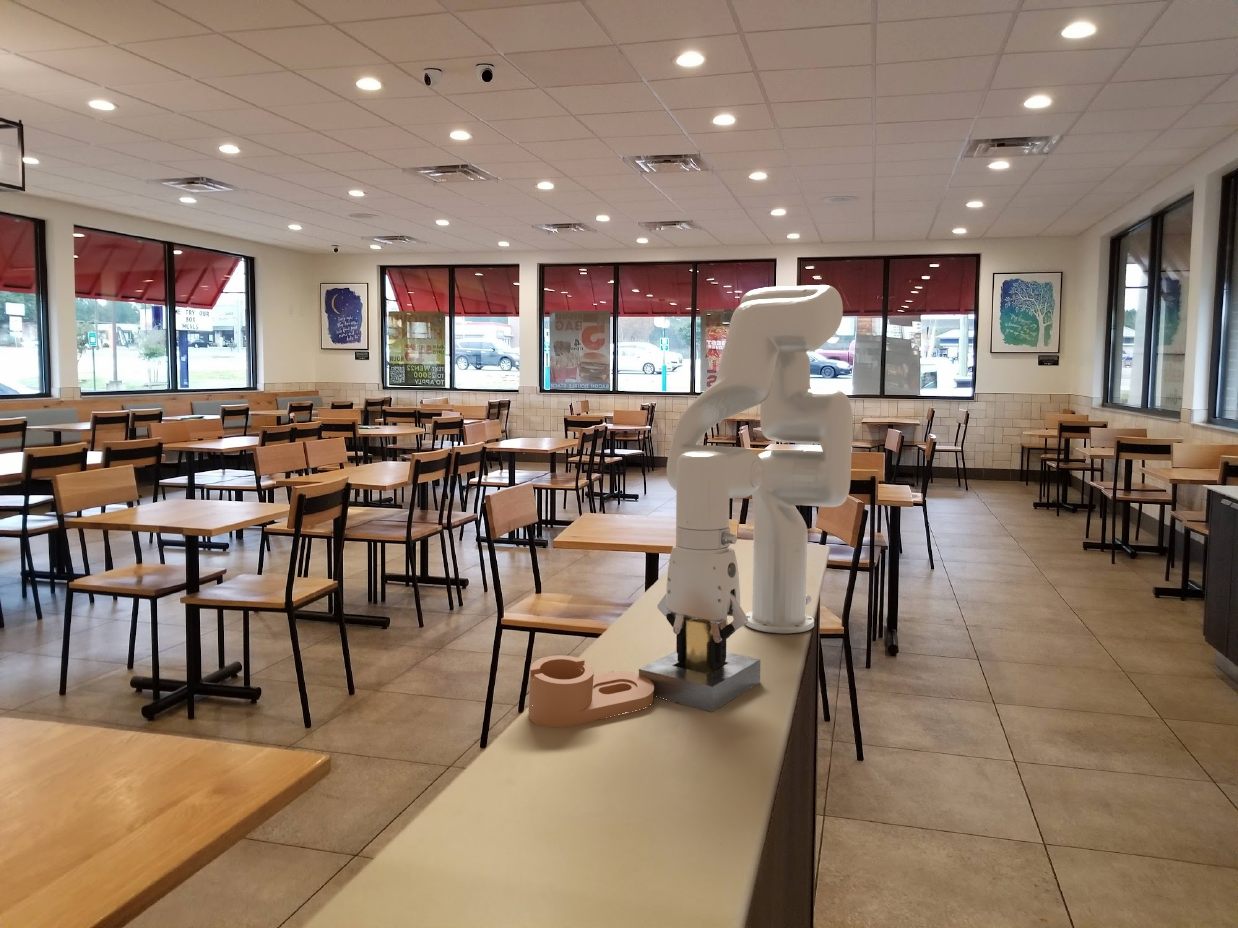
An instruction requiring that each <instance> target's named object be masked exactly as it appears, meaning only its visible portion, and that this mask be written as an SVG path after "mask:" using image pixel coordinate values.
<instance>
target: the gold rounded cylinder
mask: <svg viewBox="0 0 1238 928" xmlns="http://www.w3.org/2000/svg"><path fill="white" fill-rule="evenodd" d="M712 641H713V634H712V629H711V625H710V621H709V620H703V619H698V618H693V617H687V618H686V661H685V669H689V670H693V671H697V672H702V673H706V674H709V673H711V672H713V671H715V670H716V669H715V670H713V669H711V668H710V667H709V664H710V642H712Z"/></svg>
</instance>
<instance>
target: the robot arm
mask: <svg viewBox="0 0 1238 928" xmlns="http://www.w3.org/2000/svg"><path fill="white" fill-rule="evenodd" d="M843 313H844V307H843V300H842V297H841V294H840V293H839V291H838V290H837V289H836V288H835V287H834V286H832V285H827V284H819V285H818V284H817V285H795V286H793V285H792V286H787V285H786V286H769V287H762V288H756V289H752V290H749V291H748V292H746V293H745V294H743V296H742V298H741V299H740V303H739V305H738V306H737V307H736V308H735V309H734V311H733V313H732V316H731V318H730V323H729V327H728V331H727V335H726V339H725V342H724V345H723V346H724V349H723V350H722V355H721V360H720V363H719V367H718V372H717V376H716V380H715V381H714V382H713V384H712V385H710V386H709V387H708V388H706V389H705V390H704V391H703V392H702V393H701V394H700V395H699V396H698V397H696V398H695V399H694V400H693V401H692V403H690V405H689V406H688V407H687V408H686V409H685V410H684V411H683V413H682V415H681V416H680V417H679V419H678V421H677V423H676V426H675V429H674V432H673V434H672V435H673V436H672V439H671V443H670V448H669V451H668V455H667V456H668V457H667V462H666V477H667V481H668V484H669V486H670V487H671V488H672V489H673V490H674V491H675V493H676V497H675V499H676V501H675V503H676V507H675V511H676V512H675V517H676V518H675V519H676V520H675V524H676V526H675V545H673V546H672V548H671V551H670V556H669V561H668V567H667V568H668V569H667V574H666V575H667V577H666V591H665V594H664V595H663V597H662V598H661V599H660V601H659V602H658V603H657V605H656V606H657V610H659V611H660V612H661V614H662V615H663V616H664V617H665V619H666V620H667V622H668V623H669V625H670V626H671V627H672V631H673V633H674V634H675V635H676V642H675V643H676V645H675V647H676V651H677V653H678V661H679V662H683V661H685V660H686V618H687V617H693V618H698V619H703V620H709V621H710V625H711V629H712V634H713V641H712V642H710V664H709V667H710V668H711V669H713V670H715V669H717V668H719V667H720V666H722V665H724V662H725V660H726V652H727V640H728V639H729V638H730V637H731V636H732V635H733V634H735V632H736V631H737V630H739V629H741V628H742V627H744V626H746V627H748V628H749V629H752V630H756V631H759V632H765V633H770V634H771V633H772V634H798V633H804V632H807V631H810V630H812V629H813V628H814V627H815V619H814V617H812V616H811V615H810V614H808V613H806V611H807V610H806V609H807V605H809V604H811V602H812V597H811V595H809V594H807V580H808V579H807V575H808V572H807V570H808V569H807V568H808V539H809V538H808V537H809V536H808V534H809V532H808V526H807V524H806V521H805V520H804V517H803V515H802V514H801V513H800V511H799V509H797V507H796V506H807V507H808V506H811V507H824V508H835V507H840V506H841V505H843V504H844V503H845V502H846V501H847V500H848V496H849V493H850V490H851V476H852V475H851V474H852V453H853V450H852V449H853V411H852V410H853V409H852V404H851V401H850V399H849V397H848V395H846V394H845V393H844V392H843V391H840V390H837V389H831V388H830V389H829V388H827V389H826V388H822V389H821V388H811V360H810V357H809V355H808V353H811V352H815V351H816V350H818V349H820V348H821V347H822V346H823V345H825V343H826V342H828V341H829V340H830V339H831V338H832V337H833V336H834V335H835V333H837V331H838V329H839V328H840V325H841V323H842V319H843ZM757 406H759V407H760V409H759V418H760V419H759V421H760V431H761V434H762V435H763V437H764V438H766V439H768V440H770V441H771V442H772V441H773V442H777V443H788V444H789V443H793V444H812V445H813V444H814V445H815V444H816V445H820V447H821V451H805V450H791V449H790V450H789V449H770V450H765V451H762V452H761V453H760V452H759V454H757V452H755V451H753V450H752V449H750V448H746V447H741V446H740V447H739V446H721V445H706V444H705V445H703V444H702V445H701V444H700V442H701V440H702V438H703V437H704V436H705V434H706V433H707V432H708V431H709V430H710V429H711V428H713V427H714V426H715V425H717V424H719V423H720V422H722V421H724V420H726V419H728V418H730V417H734V416H735V415H738V414H740V413H742V412H745V411H747V410H748V411H749V409H753V408H754V407H757ZM750 496H751V498H752V506H753V546H752V547H753V548H752V549H753V551H752V552H753V553H752V557H753V558H752V599H751V600H752V609H751V610H750V611H748V612H746V613H745V612H744V609H743V608H742V606H741V588H740V587H741V586H740V574H739V567H738V566H739V565H738V561H737V556H736V552H735V551H736V550H735V549H734V548H732V547H731V548H730V545H735V544H736V543H737V541H738V536H737V534H733V533H732V532H731V527H730V499H742V498H743V499H745V498H749V497H750ZM727 617H733V620H732V621H731V622H730V623H729V622H728V618H727Z"/></svg>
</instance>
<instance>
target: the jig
mask: <svg viewBox="0 0 1238 928" xmlns="http://www.w3.org/2000/svg"><path fill="white" fill-rule="evenodd" d="M685 661H686V660H685ZM685 661H683V662H679V661H678V653H677V651H674V652H670V653H669V654H667V655H664V656H663V657H661V658H659V659H657V660H655V661H652V662H651V663H649V664H647V665H644V666H642V667H640V668H638V674H639V676H642V677H644V678H647V679H649V680H650V681H651V682H652V683H653V685H654V694H653V696H657V697H661V698H664V699H667V700H666V701H668V700H670V701H669V702H672V701H674V702H673V703H676V702H678V703H677V704H679V703H680V705H683V704H685V705H684V706H687V705H688V706H687V707H691V706H692V708H695V707H696V708H695V709H698V710H702V711H707V712H710V713H713V712H715V711H716V710H718V709H720V708H721V707H723V706H724V704H725V705H727V704H728V703H729V702H731V701H733V700H734V699H736V698H737V697H739V696H740V694H741V695H742V694H744V693H746V692H747V691H748V690H750V689H752V688H753V687H755V686H757V685H759V684H760V683H761V659H760V658H756V657H750V656H747V655H743V654H736V653H733V652H727V651H726V660H725V662H724V665H722V666H720V667H719V668H717V669H716V670H715V671H713V672H711V673H709V674H706V673H702V672H697V671H693V670H689V669H685ZM657 697H656V698H657ZM735 697H736V698H735ZM664 699H663V700H664ZM732 699H733V700H732ZM727 702H728V703H727ZM719 707H720V708H719Z"/></svg>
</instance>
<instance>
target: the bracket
mask: <svg viewBox="0 0 1238 928" xmlns="http://www.w3.org/2000/svg"><path fill="white" fill-rule="evenodd" d="M594 673H595V668H594V666H593V665H592V664H586V665H585V659H582V658H580V657H576V656H571V655H562V654H561V655H560V654H557V655H548V656H544V657H541V658H538V659H537V660H535V661H534V662H533V663H532V664H531V666H530V675H529V677H530V678H529V696H528V698H529V699H528V713H529V716H528V718H529V720H530V721H532V722H533V723H535V724H536V723H537V725H539V726H544V727H552V728H565V727H572V726H577V724H578V725H581V724H582V723H583V724H586V723H591V722H595V720H596V721H599V720H598V719H601V720H603V718H605V719H607V718H606V717H610V716H614V715H618V714H622V713H625V712H632V711H635V710H639V709H643V708H645V707H648V706H650V704H652V705H653V703H654V697H653V694H654V685H653V683H652V682H651V681H650V680H649V679H647V678H644V677H642V676H639V673H634V672H630V671H610V672H604V673H599V674H595V675H594ZM652 702H653V703H652ZM532 705H533V706H532ZM650 707H651V706H650ZM648 708H649V707H648ZM632 713H633V712H632ZM614 717H615V716H614ZM610 718H611V717H610Z"/></svg>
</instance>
